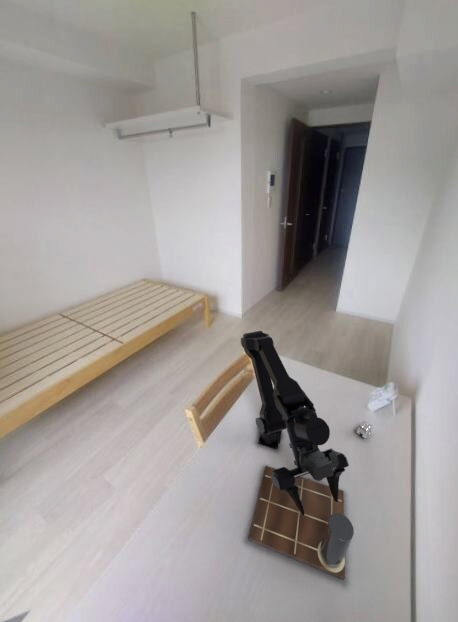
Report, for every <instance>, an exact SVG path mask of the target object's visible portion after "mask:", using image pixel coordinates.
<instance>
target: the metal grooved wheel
mask: <svg viewBox="0 0 458 622" xmlns="http://www.w3.org/2000/svg"><path fill="white" fill-rule="evenodd" d="M372 431H373V425H372V424H371V423H369V424H368V421H367V420H365V419H364V420H362V421H361V422H360V424H359V426H357V429H356V434H357V435H362V436H361V437H362V438H363V439H366V438H368V437H369V436H370V434H371V432H372Z"/></svg>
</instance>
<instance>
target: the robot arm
mask: <svg viewBox="0 0 458 622" xmlns="http://www.w3.org/2000/svg"><path fill="white" fill-rule="evenodd" d="M240 345H241V347H242V348H243V350H244V353H245V354H246V356H248V357H249V359H250V360H251V362H252V367H253V371H254V375H255V380H256V384H257V389H258V393H259V397H260V400H261V408H260V410H259V417H257V418H255V424H256V427H257V429H258V431H259V437H258V441H257V443H258V445H261V446H264V447H267V448H271V449H274V450H278V449H279V445H280V444H281V441H282V434H283V431H284V430H286V431H287V432H286V433H287V435H288V440H289V443H288V444H289V448H290V449H291V450H292V454H293V458H294V460H293V464H294V465H293V466H295V467H294V468H293V469H289V468H287V467H285V466H283V467H279V468H275V469H276V470H273V471H272V473H271V479H272V483H273V484H274V485H275V486H276V487H277V488H279V489H280V490H284V491H286V492H288V494H289V495H290V496H291V498H292V500H293V501H294V503H295V505H296V506H297V508H298V509H299V511H300V513H301V514H302V515H304V509H303V506H302V503H301V500H300V497H299V494H298V486H296V485H295V482H296V481H295V478H298V477H303V476H307V475H310V476H311V478H312V479H313V481H315V482H320V481H323V480H324V479H326V481H327V484H328V486H329V488H330V491H331V494H332V496H333V499H334V501H336V502H338V489H339V486H340V485H339V483H340V477H341V475H342V474H343V473H344V472H345V471H346V468H347V467H349V466H350V464H349V461H348V458H347V456H346V455H345V454H344V453H342V452H339V451H336V450H334V449H333V448H329V449H325V450H322V451H321V449H320V448H319V446H324V445H325V444H326V443H327V442H328V441H329V439H330V436H331V430H330V426H329V424H328V423H327V422H326V421H325V420H324V419H323V418H322V417H318V415H317V410H316V408H315V405H314V403H313V402H312V400H311V399H310V398H309V396H308V395H307V394H306V393H305V391H304V390H303V389H302V387H301V386H300V384H299V382H298V381H296V380H295V379H294V378H292V377H290V375H289V373H288V372H287V369H286V367H285V365H284V364H283V361H282V360H281V357H280V355H279V353H278V351H277V349H276V348H275V345H274V340H273V337H272V336H270V334H269V333H266V332H263V330H256V331H251V332H245V333H243V335H242V336H241V337H240Z"/></svg>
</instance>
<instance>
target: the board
mask: <svg viewBox="0 0 458 622" xmlns="http://www.w3.org/2000/svg"><path fill="white" fill-rule="evenodd" d="M276 469H277V468H274V467H271V466H268V465H265V467H264V471H263V475H262V481H261V485H260V487H259V488H260V489H259V493H258V497H257V501H256V506H255V509H254V514H253V518H252V522H251V527H250V531H249V535H248V541H249V542H250V543H253V544H256V545H259V546H261V547H263V548H266V549H268V550H270V551H273V552H275V553H277V554H280V555H283V556H285V557H287V558H289V559H292V560H294V561H296V562H298V563H299V562H300V563H302V564H304V565H307V566H309V567H310V568H311V567H312V568H313V569H316V570H318V571H321V572H323V573H326V574H328V575H331V576H333V577H335V578H337V579H339V580H342V581H345V578H346V555H345V556H344V559H343V561H342V563H341V565H340V566H339V567H338V568H331V567H329V566H327V565H326V564H325V563H324V561H323V560H322V558H321V555H320V546H321V542H322V539H323V536H324V533H325V530H326V527H327V523H328V520H329V517H330V516H331V515H332V514H334V513H340V514H343V515H344V516H345V505H344V503H345V502H344V501H345V499H344V497H345V496H344V494H345V493H344V490H342V489H339V488H338V502H336V501H334V499H333V496H332V494H331V491H330V488H329V485H326V484H324V483H320V482H319V481H315V480H312V479H308V478H305V477H303V476H300V477H298V478H295V481H296V482H295V485H296V486H298V494H299V497H300V500H301V503H302V506H303V509H304V515H302V514H301V513H300V511H299V509H298V508H297V506H296V505H295V503H294V501H293V500H292V498H291V496H290V495H289V494H288V492H286V491H284V490H280V489H279V488H277V487H276V486H275V485H274V484H273V483H272V479H271V473H272V471H273V470H276Z"/></svg>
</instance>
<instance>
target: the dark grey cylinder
mask: <svg viewBox="0 0 458 622" xmlns="http://www.w3.org/2000/svg"><path fill="white" fill-rule="evenodd" d="M354 534H355V529H354V526H353V524H352V522H351V520H350V519H349V518H348V517H347V516H346V515H345V514H344V515H343V514H340V513H334V514H332V515H331V516H330V517H329V520H328V523H327V527H326V530H325V533H324V536H323V539H322V542H321V546H320V555H321V558H322V560H323V561H324V563H325V564H326V565H327V566H329V567H331V568H338V567H339V566H340V565H341V563H342V561H343V559H344V556H345V557H346V553H347V551H348V549H349V547H350V545H351V542H352V540H353V537H354Z"/></svg>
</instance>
